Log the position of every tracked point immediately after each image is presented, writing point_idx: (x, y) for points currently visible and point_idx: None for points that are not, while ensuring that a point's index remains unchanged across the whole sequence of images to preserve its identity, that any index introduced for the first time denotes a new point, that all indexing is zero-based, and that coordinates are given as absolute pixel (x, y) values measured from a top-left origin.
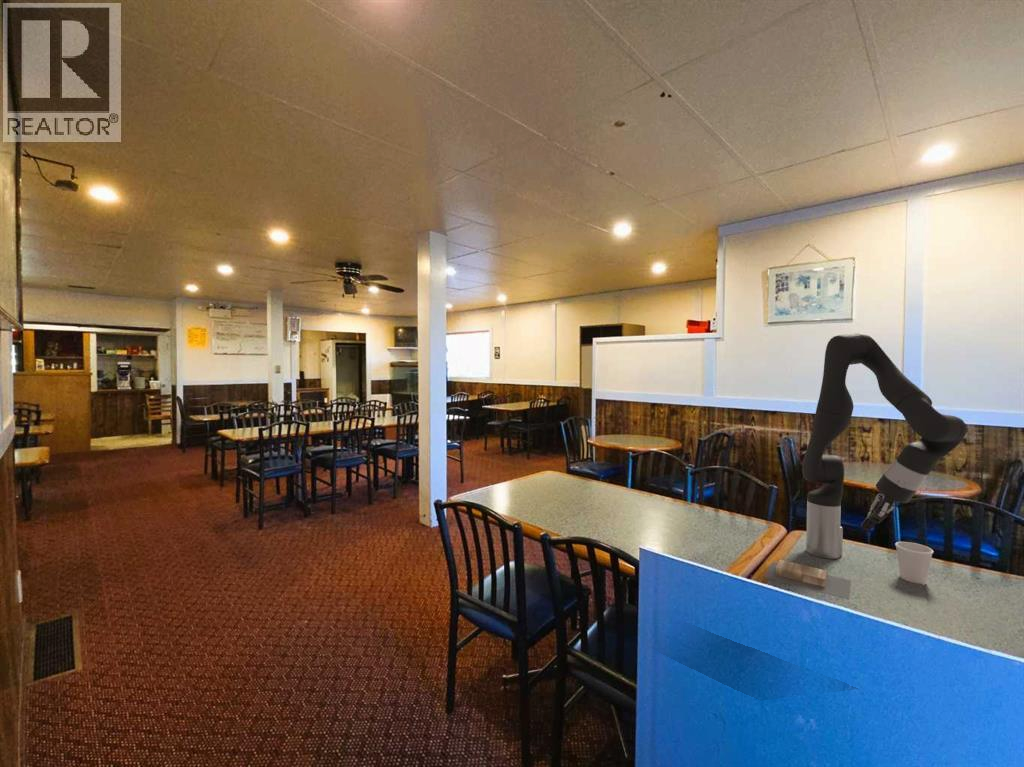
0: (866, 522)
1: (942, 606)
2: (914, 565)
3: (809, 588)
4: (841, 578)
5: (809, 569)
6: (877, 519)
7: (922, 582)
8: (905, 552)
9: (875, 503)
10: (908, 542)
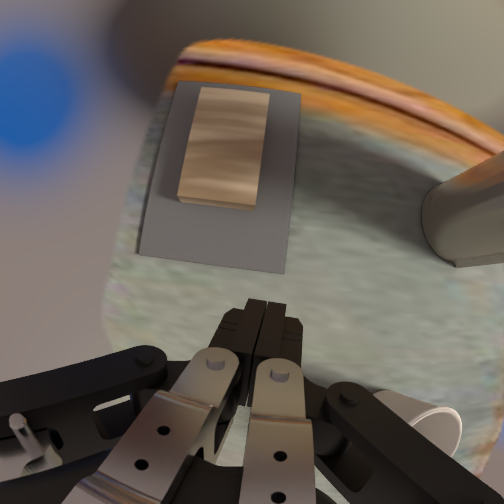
0: (224, 335)
1: (244, 450)
2: None
3: (159, 168)
4: (284, 250)
5: (234, 159)
6: (132, 409)
7: None
8: None
9: (89, 476)
10: (459, 434)
